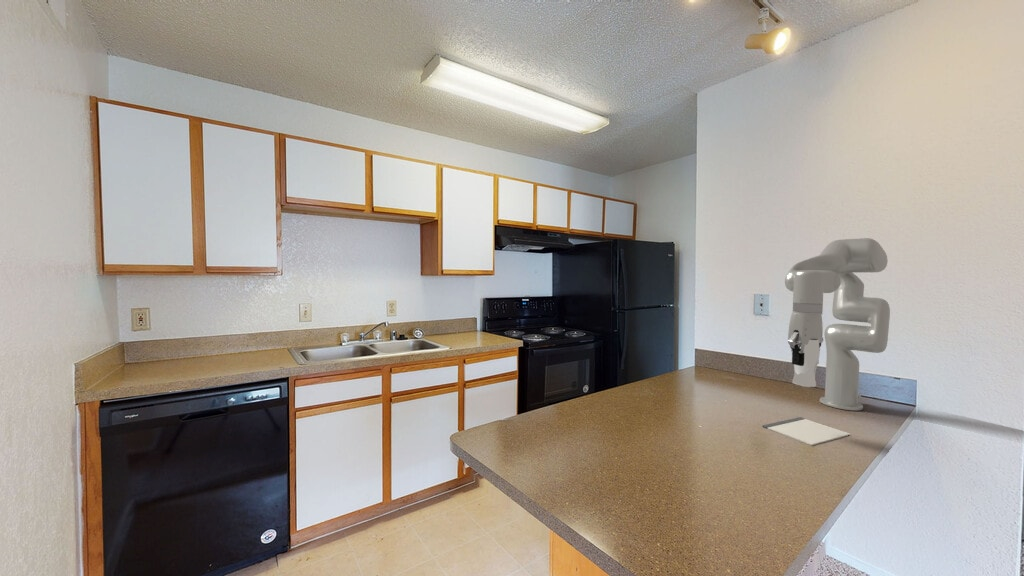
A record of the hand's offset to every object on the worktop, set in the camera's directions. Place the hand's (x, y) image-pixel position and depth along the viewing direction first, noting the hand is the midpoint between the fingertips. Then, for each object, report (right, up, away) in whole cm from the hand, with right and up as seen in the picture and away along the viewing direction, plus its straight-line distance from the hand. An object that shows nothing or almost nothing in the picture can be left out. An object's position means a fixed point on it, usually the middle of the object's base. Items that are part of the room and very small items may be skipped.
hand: (805, 363), depth 119 cm
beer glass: (0, -7, 0) cm, 7 cm away
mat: (0, -22, 0) cm, 22 cm away
